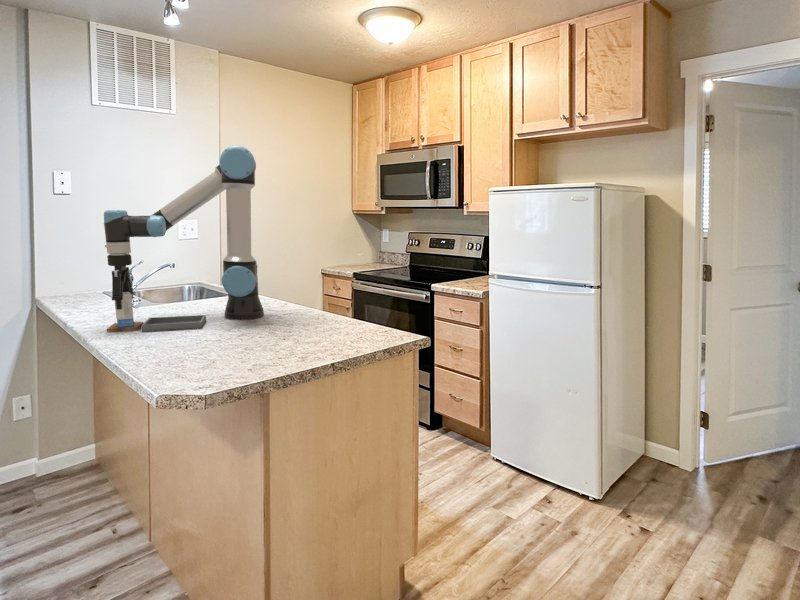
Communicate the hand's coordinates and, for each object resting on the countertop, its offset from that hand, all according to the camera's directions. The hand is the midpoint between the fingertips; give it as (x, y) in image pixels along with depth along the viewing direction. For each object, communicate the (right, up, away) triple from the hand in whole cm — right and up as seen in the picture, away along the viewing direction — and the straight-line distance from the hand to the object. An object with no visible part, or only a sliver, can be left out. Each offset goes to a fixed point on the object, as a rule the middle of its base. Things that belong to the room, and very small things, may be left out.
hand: (124, 315), depth 191 cm
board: (0, -5, +1) cm, 5 cm away
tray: (+17, -4, +4) cm, 18 cm away
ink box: (0, -4, +1) cm, 4 cm away
